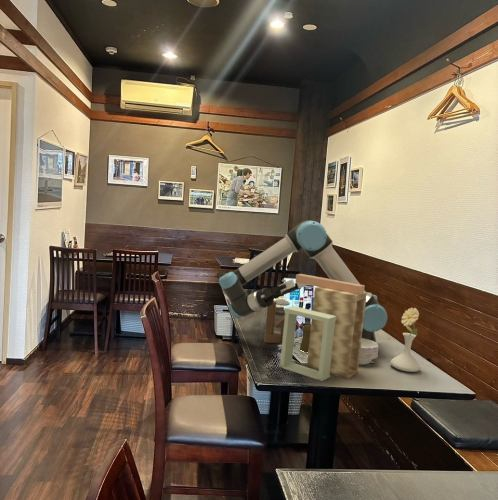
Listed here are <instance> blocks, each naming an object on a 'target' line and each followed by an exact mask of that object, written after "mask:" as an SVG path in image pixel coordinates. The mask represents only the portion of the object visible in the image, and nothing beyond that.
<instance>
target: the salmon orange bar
mask: <svg viewBox="0 0 498 500" xmlns="http://www.w3.org/2000/svg"><path fill="white" fill-rule="evenodd" d="M296 282H297V283H302V284H307V286H312V287H322V288H327V289H332V290H337V291H342V292H348V293H353V294H358V295H361V294H364V290H365V288H366V287H365V285H364V284H361V283H359V284H354V283H349V282H343V281H338V280H332V279H330V278H326V277H320V276H315V275H308V274H305V273H304V274H303V273H298V274H296V275H295V283H296Z"/></svg>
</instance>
